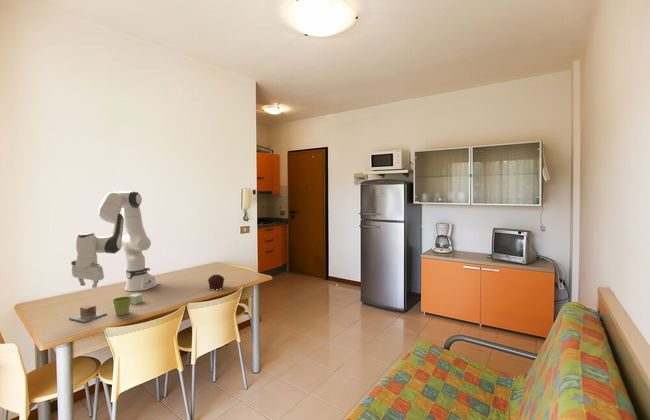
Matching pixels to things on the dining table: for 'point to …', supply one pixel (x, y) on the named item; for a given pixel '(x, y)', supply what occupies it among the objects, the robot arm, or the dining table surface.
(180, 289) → the dining table surface
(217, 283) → the muffin
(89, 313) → the block
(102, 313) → the pad
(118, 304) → the plant pot
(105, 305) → the dining table surface
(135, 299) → the block
